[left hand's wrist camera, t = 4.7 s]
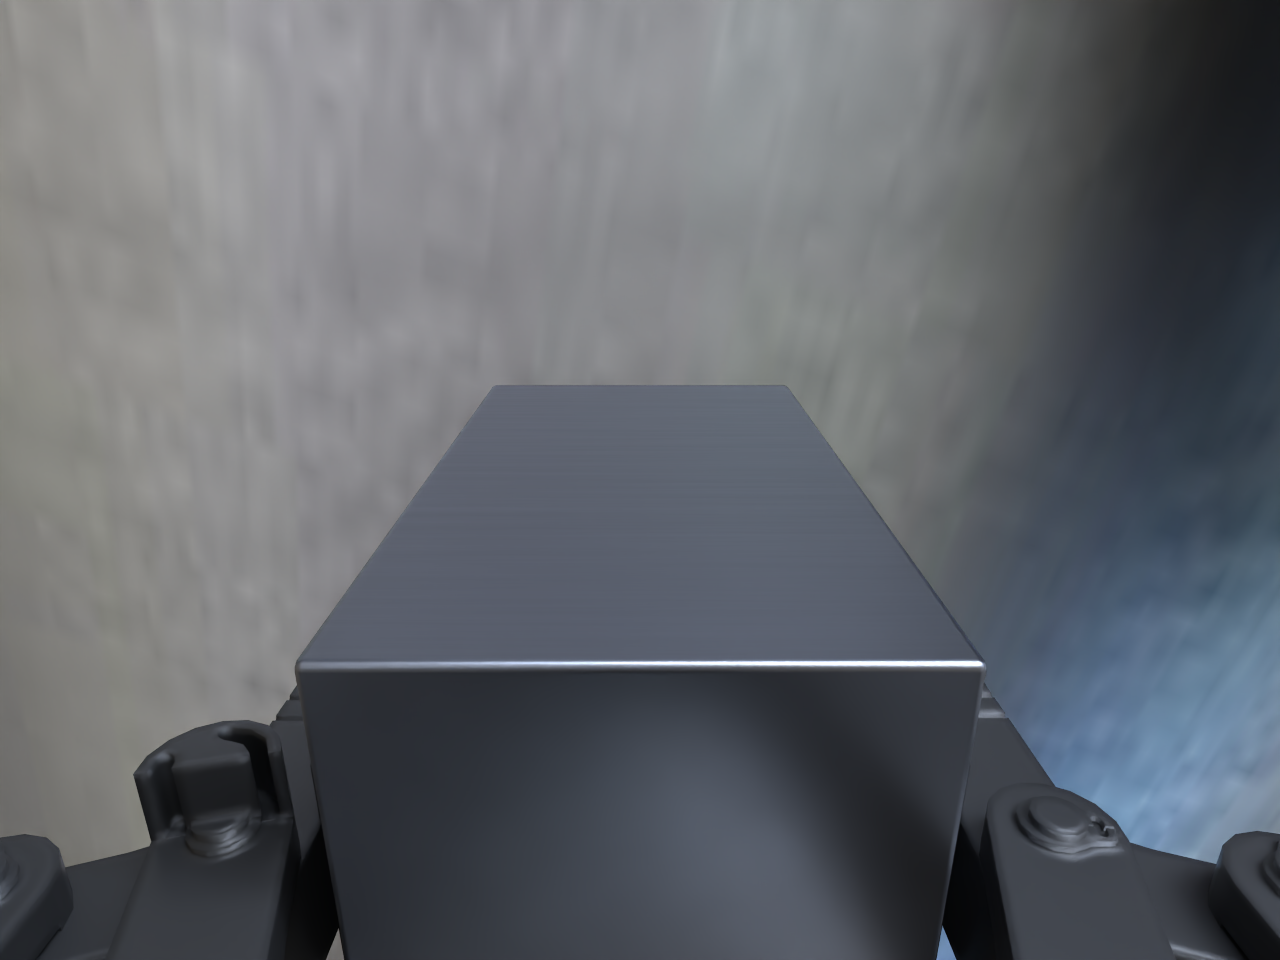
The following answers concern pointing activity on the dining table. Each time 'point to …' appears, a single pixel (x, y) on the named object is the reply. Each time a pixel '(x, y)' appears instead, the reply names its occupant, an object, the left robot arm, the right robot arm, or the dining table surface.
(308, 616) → the dining table surface
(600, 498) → the bar
